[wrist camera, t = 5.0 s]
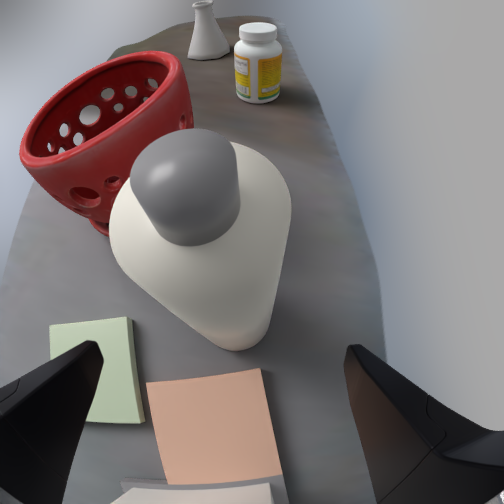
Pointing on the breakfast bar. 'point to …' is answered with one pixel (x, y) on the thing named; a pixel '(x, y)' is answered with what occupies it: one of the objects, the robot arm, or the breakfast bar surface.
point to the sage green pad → (107, 367)
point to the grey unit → (204, 492)
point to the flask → (207, 34)
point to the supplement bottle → (258, 63)
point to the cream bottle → (205, 233)
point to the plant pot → (105, 130)
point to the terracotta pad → (214, 428)
